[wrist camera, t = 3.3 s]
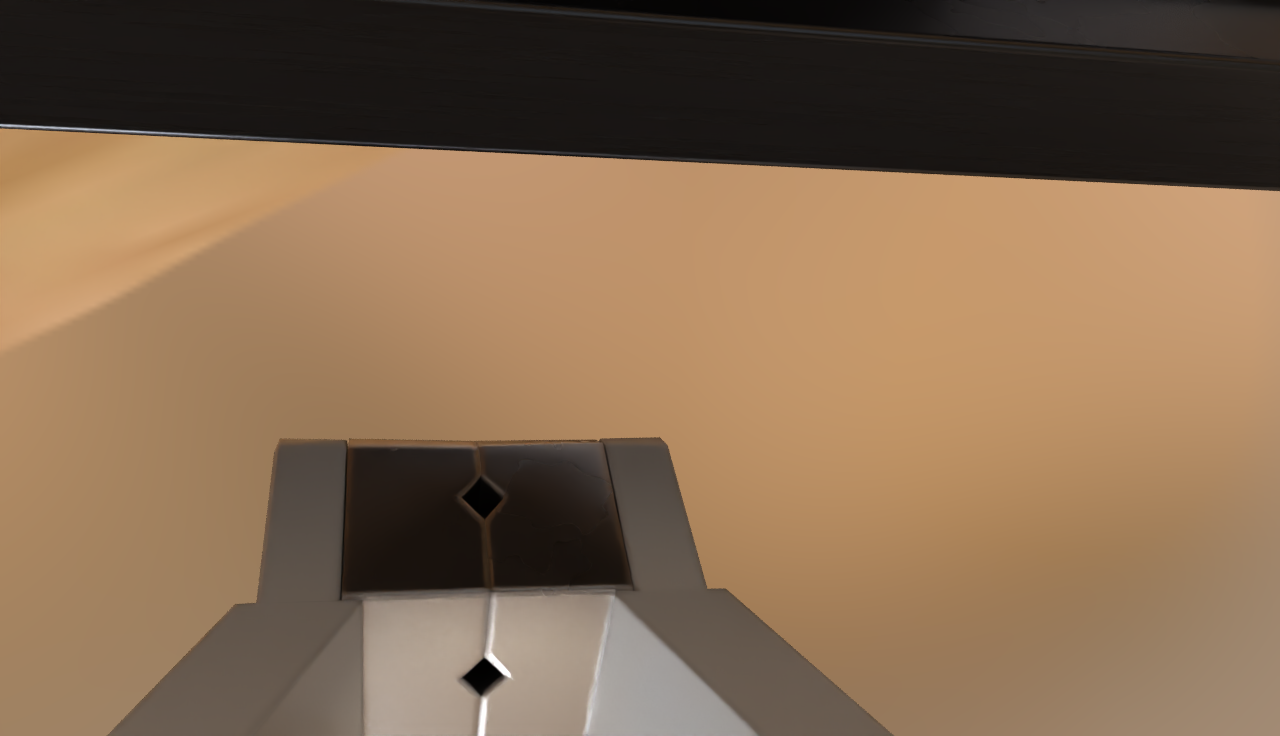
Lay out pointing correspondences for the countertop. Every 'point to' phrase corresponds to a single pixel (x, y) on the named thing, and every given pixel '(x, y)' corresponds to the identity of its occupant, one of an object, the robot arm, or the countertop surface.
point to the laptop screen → (681, 80)
